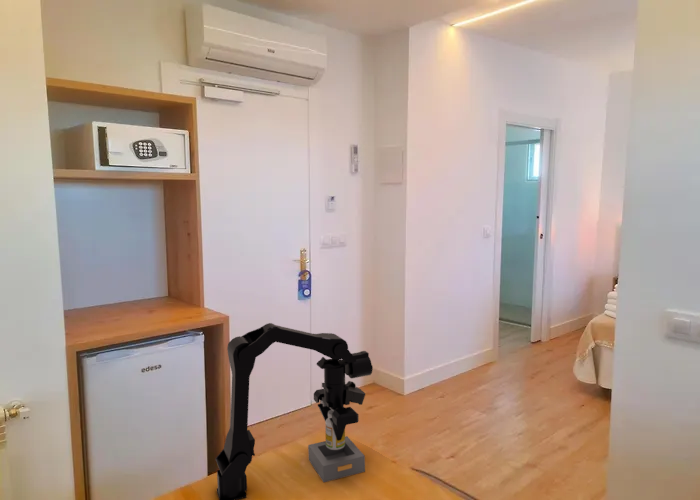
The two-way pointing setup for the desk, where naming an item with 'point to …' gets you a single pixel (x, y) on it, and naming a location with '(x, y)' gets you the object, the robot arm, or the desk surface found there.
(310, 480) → the desk surface
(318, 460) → the socket block
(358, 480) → the desk surface
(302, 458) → the desk surface
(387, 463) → the desk surface
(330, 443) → the supplement bottle
